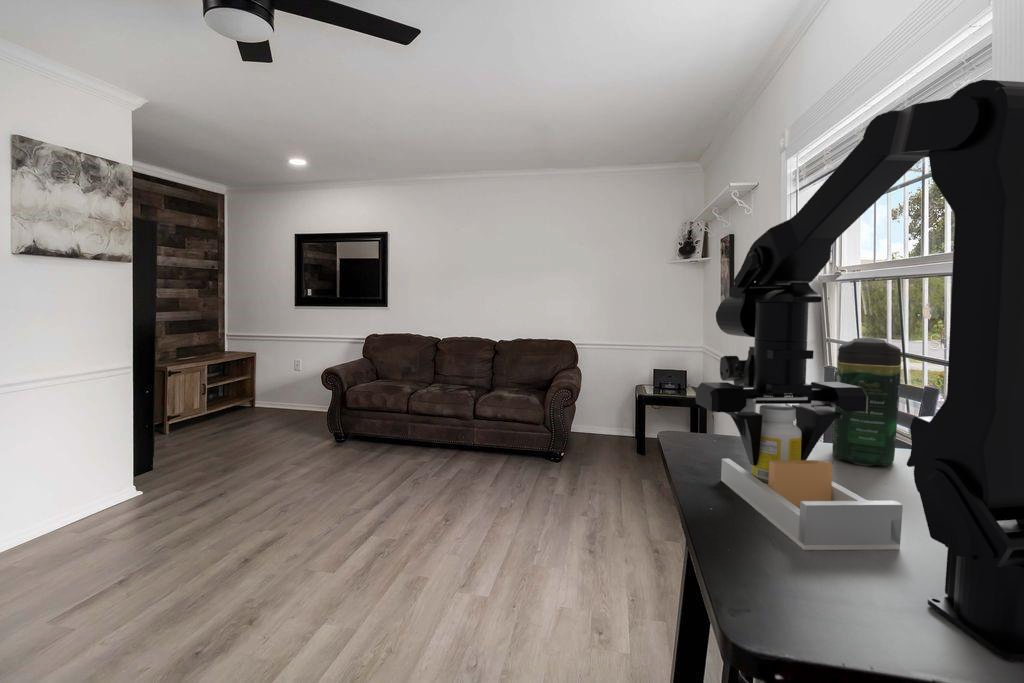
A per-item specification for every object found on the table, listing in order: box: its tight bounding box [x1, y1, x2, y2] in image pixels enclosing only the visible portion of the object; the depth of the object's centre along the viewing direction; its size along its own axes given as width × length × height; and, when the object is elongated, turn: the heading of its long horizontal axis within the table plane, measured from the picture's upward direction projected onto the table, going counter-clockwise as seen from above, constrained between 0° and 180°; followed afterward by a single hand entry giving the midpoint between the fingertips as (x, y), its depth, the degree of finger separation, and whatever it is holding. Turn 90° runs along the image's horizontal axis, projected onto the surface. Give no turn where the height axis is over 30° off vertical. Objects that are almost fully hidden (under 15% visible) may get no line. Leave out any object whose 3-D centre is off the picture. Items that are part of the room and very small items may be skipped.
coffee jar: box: [832, 337, 902, 467], centre depth 76 cm, size 10×8×19 cm
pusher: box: [768, 459, 833, 506], centre depth 57 cm, size 1×7×5 cm, turn 90°
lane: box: [720, 458, 904, 551], centre depth 58 cm, size 19×9×4 cm, turn 0°
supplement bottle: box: [751, 404, 802, 486], centre depth 62 cm, size 5×5×10 cm
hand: (776, 464), depth 63 cm, fingers closed on supplement bottle, 5 cm apart
